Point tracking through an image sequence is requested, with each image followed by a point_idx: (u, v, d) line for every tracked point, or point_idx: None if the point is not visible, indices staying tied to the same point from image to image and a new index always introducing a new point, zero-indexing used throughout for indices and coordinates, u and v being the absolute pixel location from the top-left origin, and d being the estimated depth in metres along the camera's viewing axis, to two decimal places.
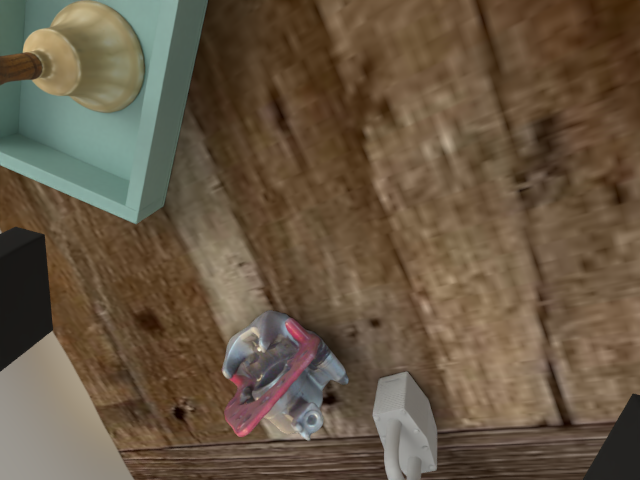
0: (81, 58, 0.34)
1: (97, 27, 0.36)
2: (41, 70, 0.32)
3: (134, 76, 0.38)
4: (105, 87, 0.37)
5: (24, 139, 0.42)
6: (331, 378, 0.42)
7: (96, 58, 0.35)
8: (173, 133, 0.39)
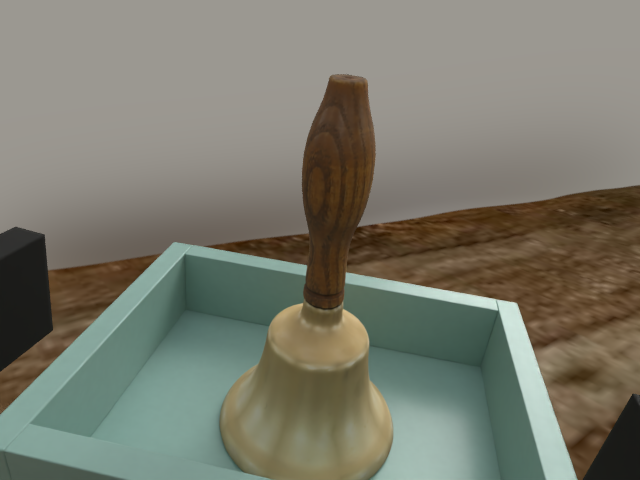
0: (335, 375, 0.20)
1: (368, 417, 0.22)
2: (320, 306, 0.20)
3: (292, 474, 0.20)
4: (275, 417, 0.20)
5: (177, 311, 0.29)
6: None
7: (330, 403, 0.20)
8: None
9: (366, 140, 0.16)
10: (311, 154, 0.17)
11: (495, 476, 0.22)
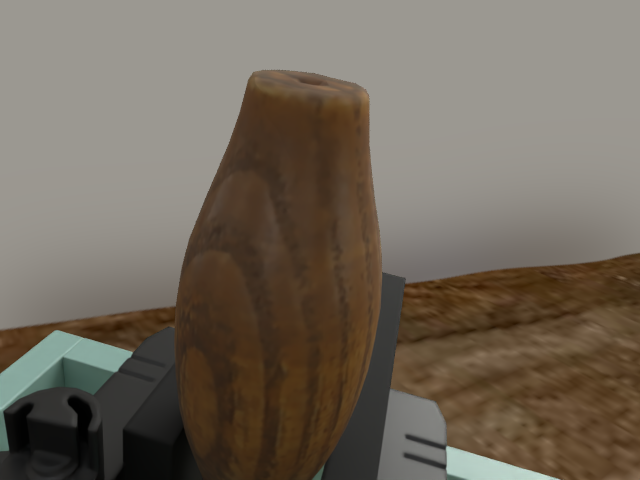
0: None
1: None
2: None
3: None
4: None
5: None
6: None
7: None
8: None
9: (353, 283, 0.05)
10: (185, 306, 0.05)
11: None
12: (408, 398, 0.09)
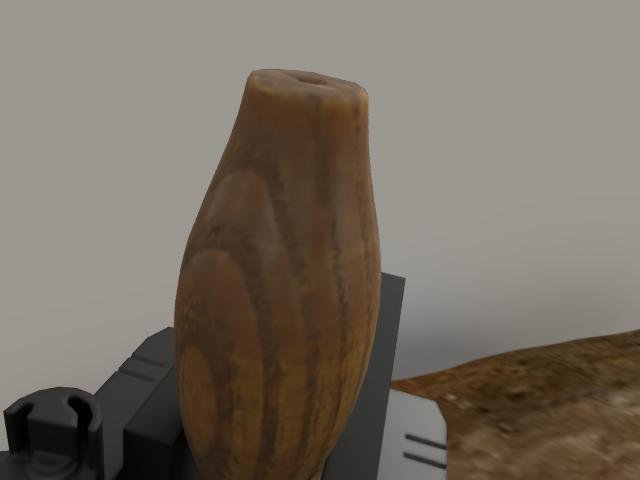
0: None
1: None
2: None
3: None
4: None
5: None
6: None
7: None
8: None
9: (352, 282, 0.05)
10: (183, 305, 0.05)
11: None
12: (408, 398, 0.09)
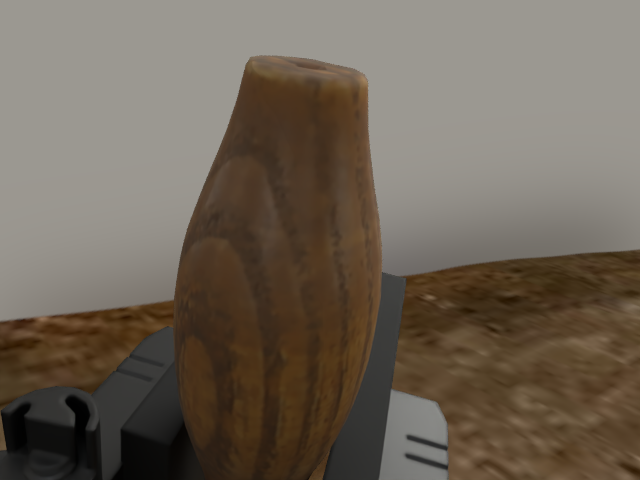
0: None
1: None
2: None
3: None
4: None
5: None
6: None
7: None
8: None
9: (352, 269, 0.05)
10: (182, 295, 0.05)
11: None
12: (409, 398, 0.09)
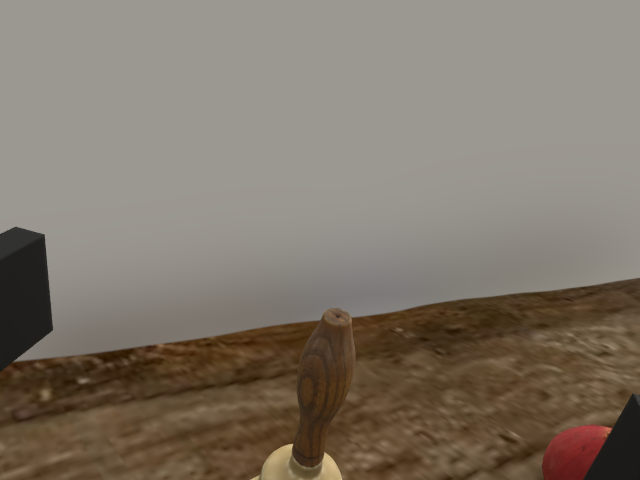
0: None
1: None
2: (304, 465, 0.25)
3: None
4: None
5: None
6: None
7: None
8: None
9: (347, 362, 0.22)
10: (305, 366, 0.22)
11: None
12: None
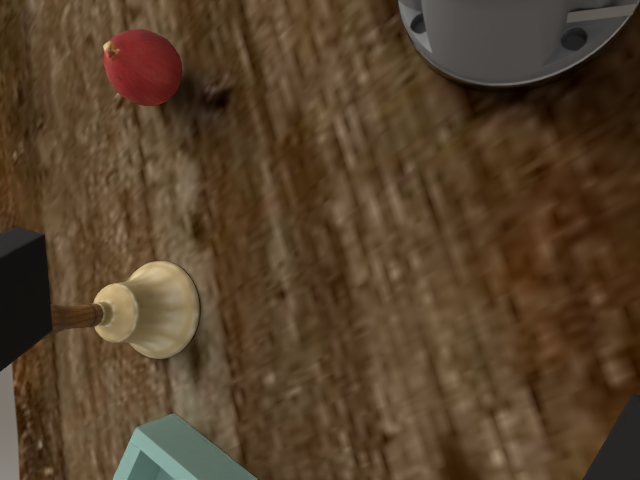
0: (140, 313, 0.37)
1: (165, 286, 0.40)
2: (100, 320, 0.35)
3: (185, 331, 0.40)
4: (155, 338, 0.39)
5: None
6: None
7: (154, 313, 0.38)
8: None
9: None
10: None
11: None
12: None
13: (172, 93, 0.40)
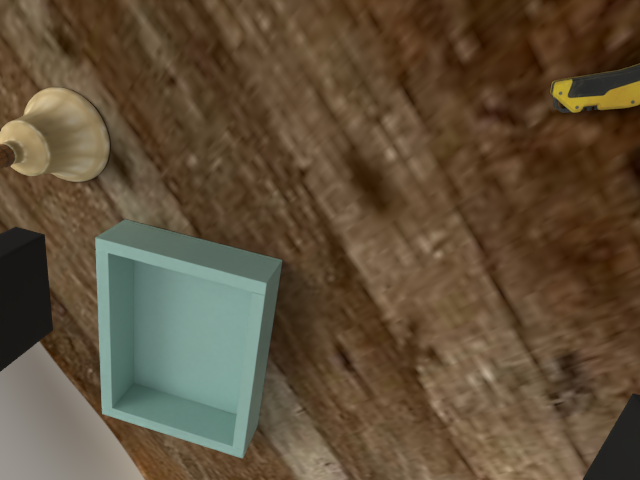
0: (48, 140, 0.38)
1: (60, 110, 0.40)
2: (13, 157, 0.37)
3: (100, 146, 0.42)
4: (75, 160, 0.41)
5: (140, 389, 0.53)
6: None
7: (62, 137, 0.40)
8: (261, 382, 0.48)
9: None
10: None
11: None
12: None
13: None
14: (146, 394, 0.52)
